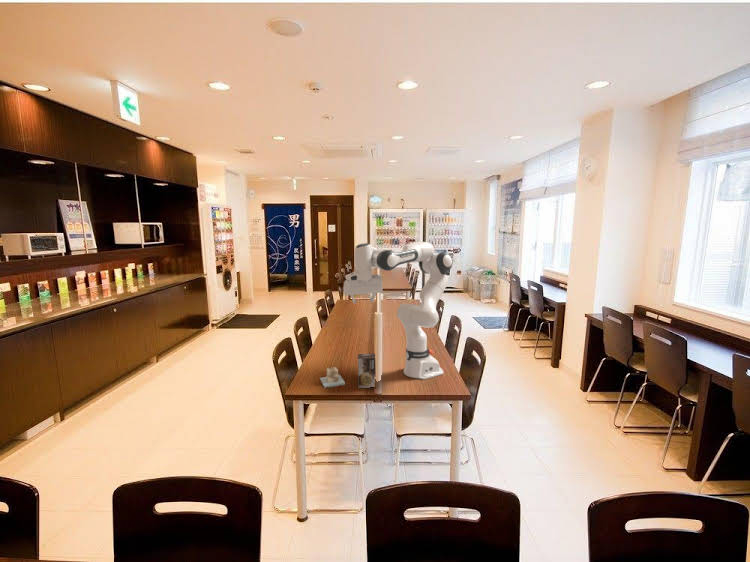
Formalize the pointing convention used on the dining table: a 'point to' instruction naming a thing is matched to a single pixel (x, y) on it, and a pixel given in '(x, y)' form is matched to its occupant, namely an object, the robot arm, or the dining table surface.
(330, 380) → the ash block
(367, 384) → the coffee box
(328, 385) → the tile
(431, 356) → the robot arm
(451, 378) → the dining table surface
